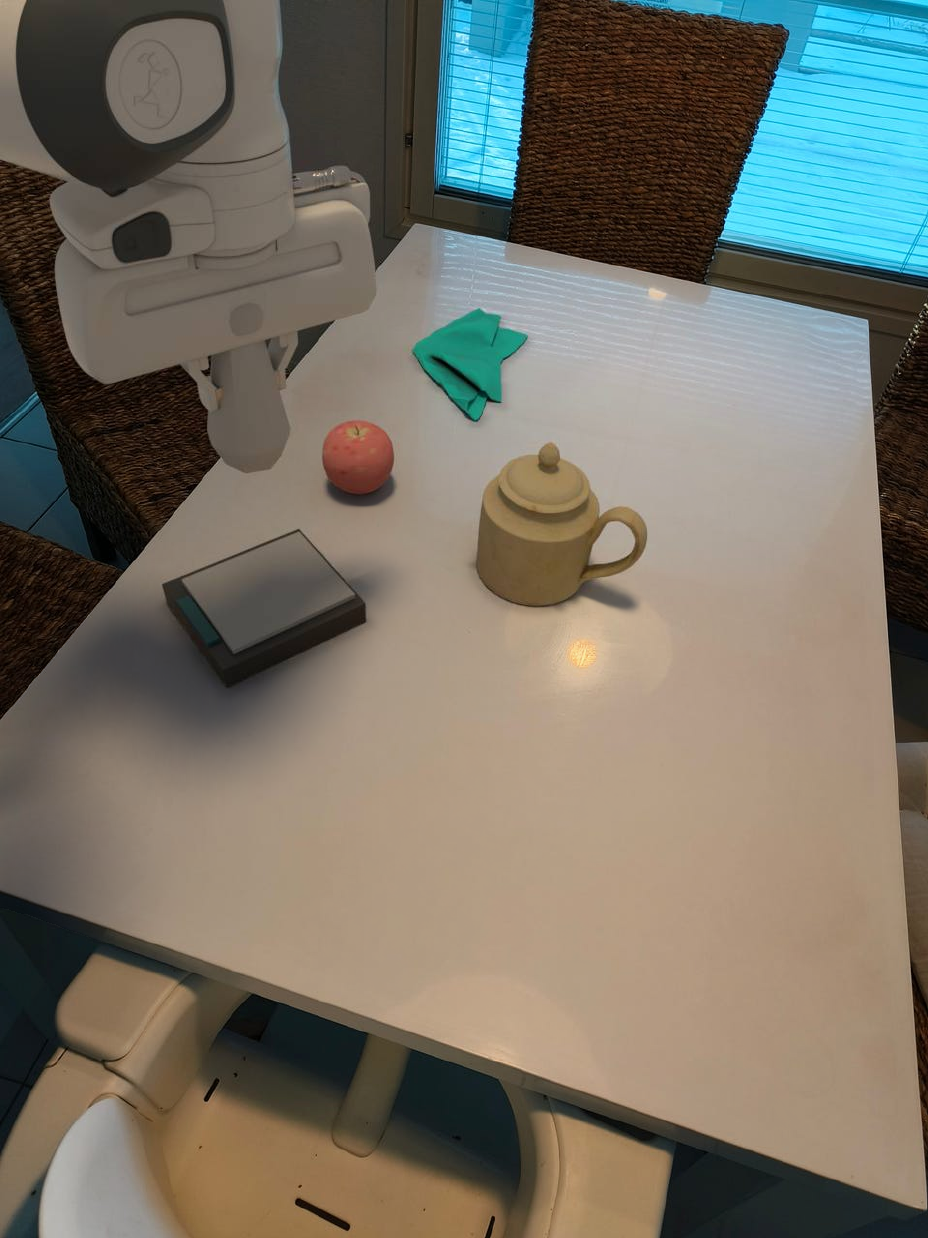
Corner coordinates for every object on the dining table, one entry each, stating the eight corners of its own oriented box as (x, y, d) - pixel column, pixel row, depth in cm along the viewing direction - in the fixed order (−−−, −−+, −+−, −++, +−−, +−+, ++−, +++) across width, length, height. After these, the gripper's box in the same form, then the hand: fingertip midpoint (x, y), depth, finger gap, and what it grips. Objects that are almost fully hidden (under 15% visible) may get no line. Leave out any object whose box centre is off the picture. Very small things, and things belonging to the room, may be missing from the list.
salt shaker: (257, 490, 60) (234, 320, 51) (195, 461, 62) (162, 291, 53) (308, 450, 64) (295, 284, 54) (248, 424, 66) (225, 258, 56)
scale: (226, 688, 72) (221, 665, 70) (166, 603, 78) (160, 579, 76) (366, 621, 78) (365, 598, 76) (300, 547, 84) (298, 523, 82)
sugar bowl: (617, 537, 89) (651, 415, 78) (628, 614, 81) (667, 491, 70) (475, 526, 88) (489, 402, 77) (473, 603, 81) (488, 477, 70)
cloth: (443, 304, 120) (443, 289, 118) (537, 323, 118) (539, 308, 117) (381, 400, 103) (381, 384, 101) (491, 425, 101) (492, 408, 99)
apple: (383, 514, 89) (383, 451, 83) (315, 501, 89) (310, 438, 83) (400, 472, 94) (402, 410, 88) (336, 460, 94) (333, 397, 88)
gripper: (342, 143, 55) (347, 338, 66) (18, 200, 46) (83, 416, 56) (396, 177, 52) (393, 377, 62) (59, 246, 43) (120, 466, 53)
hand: (243, 396), depth 59 cm, fingers closed on salt shaker, 3 cm apart
